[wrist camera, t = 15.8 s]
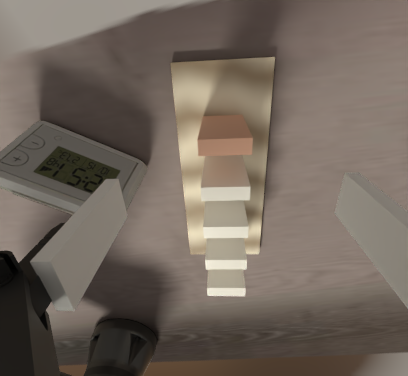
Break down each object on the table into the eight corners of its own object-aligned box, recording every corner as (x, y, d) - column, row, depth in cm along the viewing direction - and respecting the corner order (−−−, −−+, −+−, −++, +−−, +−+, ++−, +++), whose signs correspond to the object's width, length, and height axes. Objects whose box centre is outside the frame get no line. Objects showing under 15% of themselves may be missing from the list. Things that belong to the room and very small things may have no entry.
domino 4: (239, 220, 38) (246, 269, 29) (208, 221, 38) (205, 269, 29) (239, 212, 37) (246, 259, 28) (208, 212, 37) (205, 259, 29)
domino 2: (241, 162, 33) (249, 200, 24) (205, 163, 33) (201, 201, 25) (241, 151, 32) (250, 186, 24) (204, 153, 33) (200, 187, 24)
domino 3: (240, 193, 36) (247, 237, 27) (207, 194, 36) (203, 238, 27) (240, 184, 35) (248, 226, 26) (206, 184, 35) (203, 227, 26)
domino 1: (242, 127, 31) (252, 154, 22) (203, 128, 31) (198, 156, 22) (242, 114, 30) (252, 137, 21) (202, 116, 30) (197, 139, 22)
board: (258, 249, 42) (259, 254, 41) (190, 250, 43) (190, 254, 42) (273, 56, 28) (275, 56, 27) (171, 62, 28) (170, 62, 28)
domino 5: (239, 244, 40) (245, 296, 32) (209, 244, 41) (207, 295, 32) (239, 237, 40) (245, 288, 31) (209, 237, 40) (207, 287, 31)
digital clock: (155, 165, 35) (132, 203, 26) (128, 205, 39) (100, 252, 30) (48, 97, 31) (-23, 114, 22) (30, 150, 35) (-38, 183, 26)
